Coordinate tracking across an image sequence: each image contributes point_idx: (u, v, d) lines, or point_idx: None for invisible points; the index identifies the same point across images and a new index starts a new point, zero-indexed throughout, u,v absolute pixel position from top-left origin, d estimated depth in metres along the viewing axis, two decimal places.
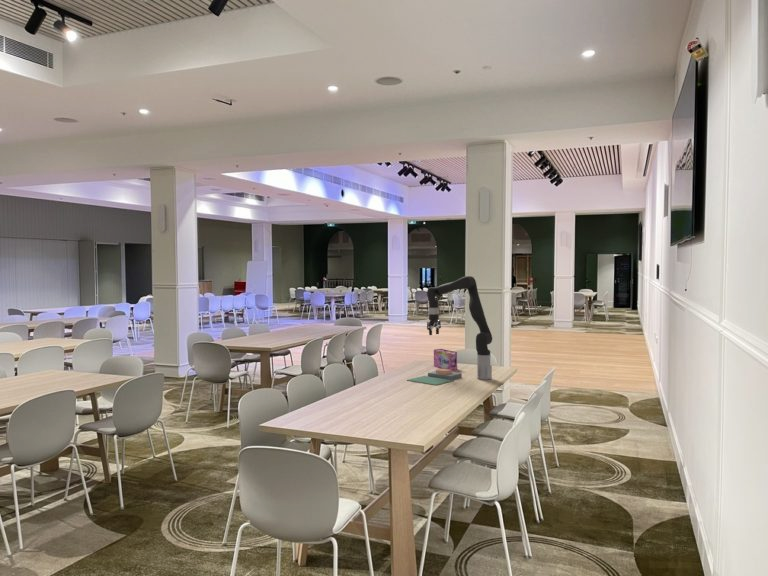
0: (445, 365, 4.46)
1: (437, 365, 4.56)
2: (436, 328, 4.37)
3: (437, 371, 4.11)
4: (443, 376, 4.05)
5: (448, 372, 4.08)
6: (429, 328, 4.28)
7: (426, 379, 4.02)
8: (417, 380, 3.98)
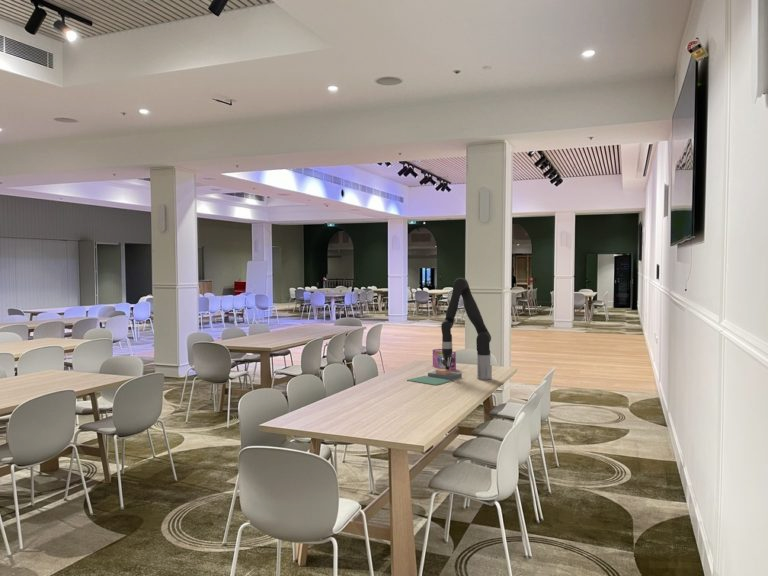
0: None
1: (436, 365, 4.55)
2: None
3: (436, 371, 4.11)
4: (443, 376, 4.05)
5: (447, 372, 4.08)
6: (445, 364, 4.12)
7: (426, 379, 4.02)
8: (417, 380, 3.98)
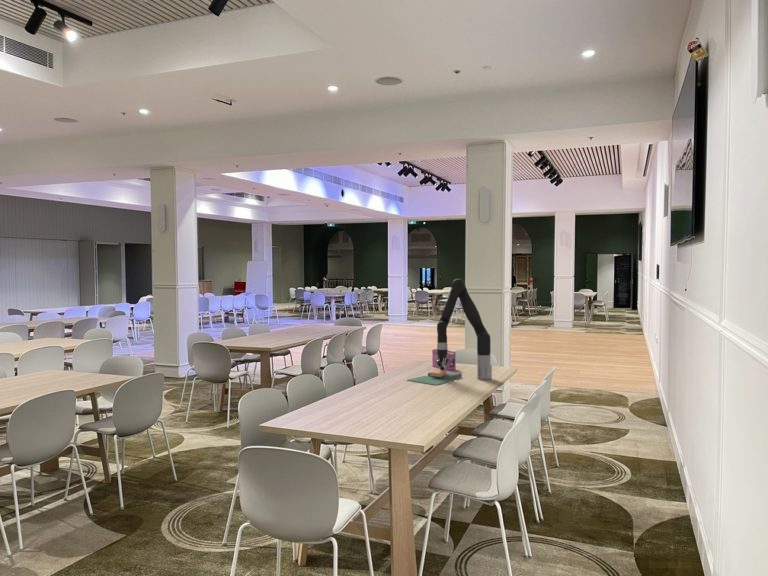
0: None
1: (436, 365, 4.55)
2: None
3: (431, 373, 4.06)
4: (443, 376, 4.05)
5: (443, 374, 4.03)
6: (440, 365, 4.08)
7: (426, 379, 4.02)
8: (417, 380, 3.98)
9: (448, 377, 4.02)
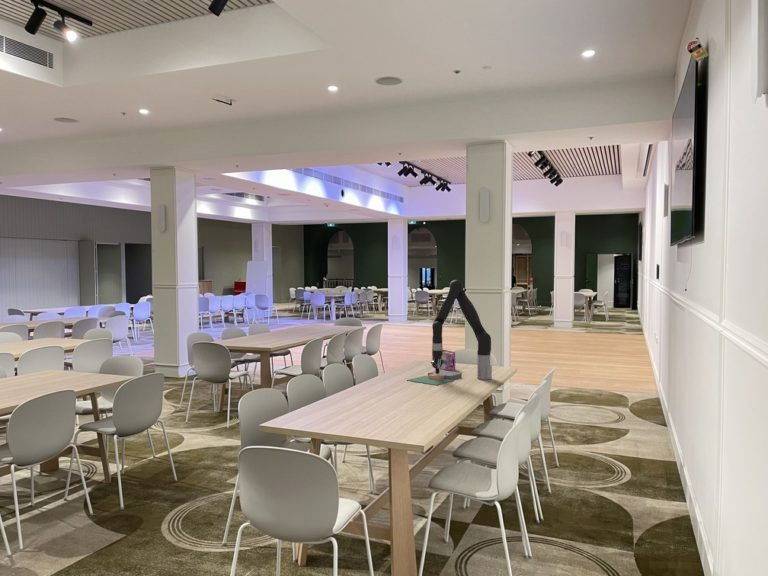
0: (443, 366, 4.45)
1: None
2: None
3: (429, 376, 4.04)
4: None
5: (440, 377, 4.01)
6: (436, 366, 4.03)
7: (426, 379, 4.02)
8: (417, 380, 3.98)
9: (448, 377, 4.02)
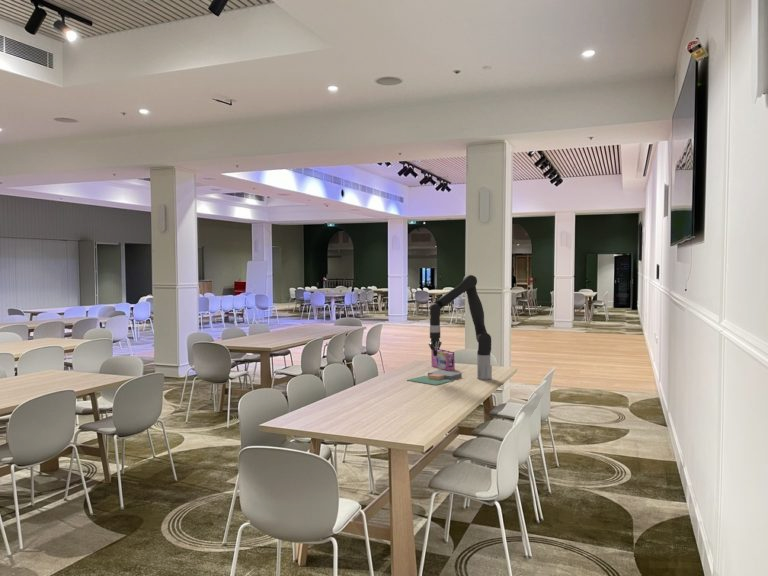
0: (442, 366, 4.45)
1: (435, 365, 4.55)
2: None
3: (429, 376, 4.04)
4: None
5: (440, 377, 4.01)
6: (433, 348, 4.01)
7: (426, 379, 4.02)
8: (417, 380, 3.98)
9: (448, 377, 4.02)
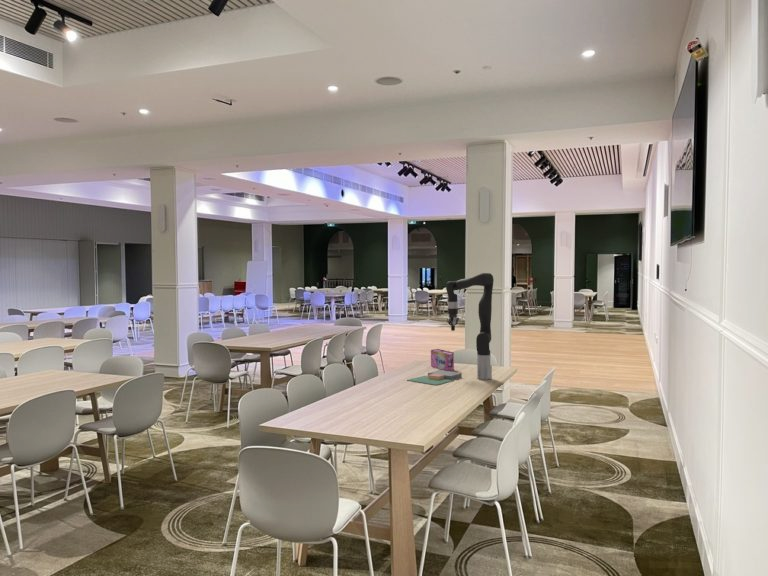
0: (442, 366, 4.45)
1: (434, 365, 4.55)
2: None
3: (429, 376, 4.04)
4: None
5: (440, 377, 4.01)
6: (451, 323, 4.25)
7: (426, 379, 4.02)
8: (417, 380, 3.98)
9: (448, 377, 4.02)
